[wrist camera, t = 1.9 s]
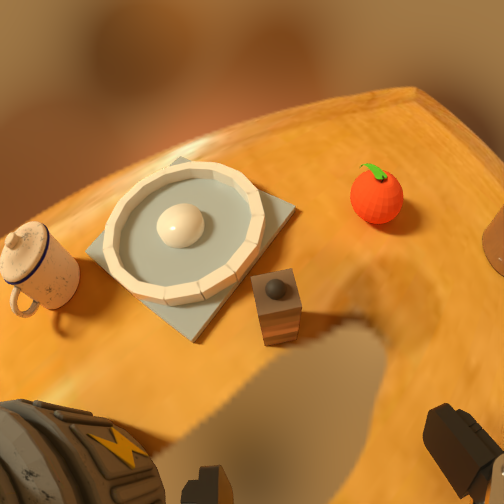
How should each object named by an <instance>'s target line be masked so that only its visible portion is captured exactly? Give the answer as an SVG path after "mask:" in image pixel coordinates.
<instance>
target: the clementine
mask: <svg viewBox="0 0 504 504" xmlns="http://www.w3.org/2000/svg"><path fill="white" fill-rule="evenodd" d="M363 165H365V166H367V167H368V168H369V169H370V170H368V171H366V172H363V173H362V174H361V175H359V176H358V177H357V178H356V179H355V181H354V183H353V185H352V188H351V195H350V199H351V204H352V206H353V208H354V210H355V212H356V213H357V214H358V216H359V217H361V218H362V219H363V220H365V221H367V222H369V223H373V224H383V223H387V222H389V221H390V220H392V219H394V218H395V217H396V216H397V214H398V213H399V212H400V210H401V207H402V204H403V190H402V187H401V185H400V183H399V182H398V180H397V179H396V178H395V177H394V176H393V175H392V174H390V173H389V172H386V171H384V170H381V169H380V168H379V167H377V166H375V165H372V164H368V163H367V164H363ZM363 165H361V167H362V166H363Z"/></svg>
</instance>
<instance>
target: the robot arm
mask: <svg viewBox="0 0 504 504" xmlns="http://www.w3.org/2000/svg"><path fill="white" fill-rule="evenodd" d="M482 240H483V248H484V251H485V254H486V257H487V258H488V260H489V262H490V263H491V265H492V266H493V267H494V269H495V270H496V271H497V272H499V273H500V274H501V275H503V276H504V205H503V207H502V208H501V209H500V211H499V212H498V213H497V215H496V216H495V218H494V219H493V220H492V222H491V223H490V224H489V226H488V227H487V229H486V230H485V232H484V234H483V239H482ZM423 441H424V444H425V446H426V448H427V450H428V451H429V452H430V454H431V455H432V457H433V458H434V460H435V461H436V463H437V464H438V466H439V467H440V469H441V470H442V472H443V473H444V475H445V476H446V478H447V479H448V481H449V482H450V484H451V486H452V487H453V489H454V490H455V492H456V493H457V495H458V496H459V498H460V499H462V498H463V497H465V496H467V495H468V494H469V495H470V496H471V500H470V504H504V451H503V450H502V449H501V448H500V447H499V446H498V445H497V444H496V442H495V441H494V440H493V439H492V438H491V437H490V436H489V435H488V433H487V432H486V431H485V430H484V429H482V427H481V426H480V425H479V424H478V423H477V421H476V420H475V419H474V418H473V417H472V416H471V415H470V414H469V413H467V412H465V411H463V410H461V409H458V410H456V411H455V410H454V409H453V408H452V407H451V406H450V405H449V404H448V403H444V404H442V405H440V406H438V407H435V408H433V409H431V410H429V412H428V415H427V419H426V424H425V428H424V432H423ZM181 504H234V503H233V492H232V487H231V485H230V483H229V481H228V478H227V476H226V474H225V472H224V470H223V468H222V466H221V465H215V466H202V467H200V470H199V480H189V481H188V482H187V484H186V485H185V487H184V488H183V490H182V495H181Z"/></svg>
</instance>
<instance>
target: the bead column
mask: <svg viewBox="0 0 504 504" xmlns="http://www.w3.org/2000/svg"><path fill="white" fill-rule="evenodd" d="M251 282H252V287H253V292H254V297H255V302H256V307H257V312H258V317H259V322H260V326H261V331H262V335H263V340H264V344H265V346H268V345H273V344H278V343H283V342H287V341H292V340H297V335H298V329H299V323H300V316H301V310H302V304H301V300H300V297H299V293H298V289H297V286H296V282H295V278H294V274H293V271H292V268H291V269H286V270H281V271H276V272H271V273H266V274H261V275H256V276H251Z"/></svg>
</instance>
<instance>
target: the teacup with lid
mask: <svg viewBox="0 0 504 504" xmlns="http://www.w3.org/2000/svg"><path fill="white" fill-rule="evenodd" d="M0 272H1V275H2V277H3V278H4V280H5V281H6V282H7V283H8V284H11V285H14V288H13V291H12V293H11V297H10V306H11V309H12V311H13V312H14V313H15V314H16V315H17V316H20V317H23V318H27V317H31V316H32V315H34V314H35V312H36V311H37V309H38V307H39V305H41V306H43V307H45V308H47V309H56V308H59V307H61V306H63V305H64V304H65V303H67V302H68V301H69V300H70V299H71V297H72V296H73V295H74V293H75V291H76V289H77V287H78V284H79V279H80V269H79V265H78V263H77V261H76V260H75V259H74V258H73V257H72V256H71V255H70V254H69V253H68V252H67V251H66V250H65V249H64V248H63V247H62V246H61V245H60V243H59V242H58V241H57V240H56V239H55V238H54V237H53V236H52V235H51V234H50V233H49V230H48V228H47V227H46V226H45V225H44V224H42V223H40V222H36V221H33V222H28V223H26V224H24V225H22V226H21V227H19V228H18V229H17V230H16V231H15V232H12V233H10V234H8V236H7V237H6V239H5V246H4V248H3V251H2V254H1V258H0ZM20 291H22V292H23V293H25V294H26V295H27V296H29V297H30V298H31V299H33V303H32V305H31V307H30V308H29V309H28V310H27V311H24V312H21V311H20V310H19V309H18V306H17V299H18V296H19V293H20Z"/></svg>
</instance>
